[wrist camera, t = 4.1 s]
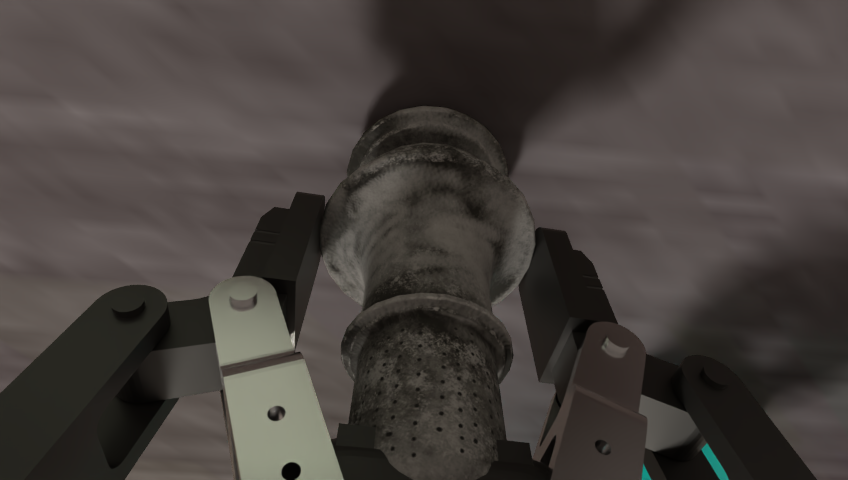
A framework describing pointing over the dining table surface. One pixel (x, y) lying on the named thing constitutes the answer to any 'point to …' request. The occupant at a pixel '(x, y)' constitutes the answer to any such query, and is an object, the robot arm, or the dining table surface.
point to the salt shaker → (428, 287)
